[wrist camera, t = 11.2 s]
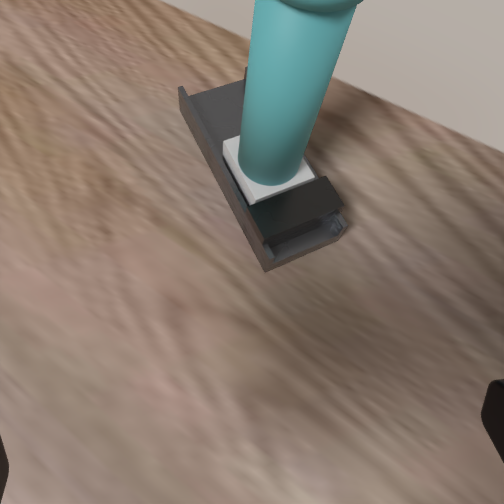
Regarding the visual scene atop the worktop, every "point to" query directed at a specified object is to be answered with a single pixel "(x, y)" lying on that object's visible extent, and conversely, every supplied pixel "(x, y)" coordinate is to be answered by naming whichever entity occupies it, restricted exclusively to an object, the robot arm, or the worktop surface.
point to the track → (271, 209)
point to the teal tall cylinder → (284, 92)
